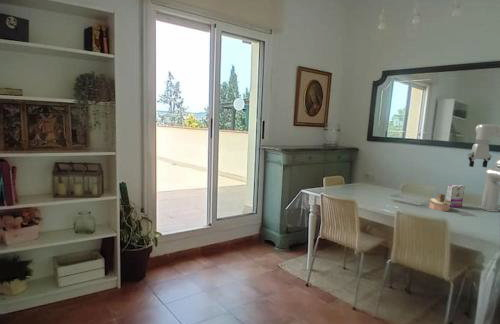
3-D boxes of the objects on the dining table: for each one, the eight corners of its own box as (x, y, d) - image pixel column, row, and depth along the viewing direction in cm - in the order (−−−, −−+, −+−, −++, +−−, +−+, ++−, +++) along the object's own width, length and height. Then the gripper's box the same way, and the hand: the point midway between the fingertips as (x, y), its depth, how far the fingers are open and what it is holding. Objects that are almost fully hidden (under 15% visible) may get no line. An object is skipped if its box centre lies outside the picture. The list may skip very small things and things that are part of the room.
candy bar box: (456, 205, 246) (459, 184, 244) (461, 207, 242) (465, 186, 239) (444, 205, 243) (447, 184, 241) (450, 207, 239) (453, 186, 236)
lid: (443, 199, 241) (444, 192, 240) (456, 205, 227) (457, 197, 226) (425, 199, 240) (426, 191, 239) (437, 204, 226) (438, 196, 225)
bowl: (441, 206, 240) (442, 200, 239) (452, 211, 228) (453, 204, 228) (426, 206, 239) (427, 199, 239) (436, 211, 228) (437, 204, 227)
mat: (466, 212, 230) (466, 211, 230) (477, 217, 219) (478, 216, 219) (451, 211, 229) (451, 210, 229) (462, 216, 218) (462, 215, 218)
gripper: (489, 142, 225) (485, 166, 228) (465, 141, 224) (462, 165, 227) (498, 143, 218) (493, 168, 221) (473, 142, 217) (469, 167, 220)
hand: (477, 166), depth 224 cm, fingers open, 9 cm apart
